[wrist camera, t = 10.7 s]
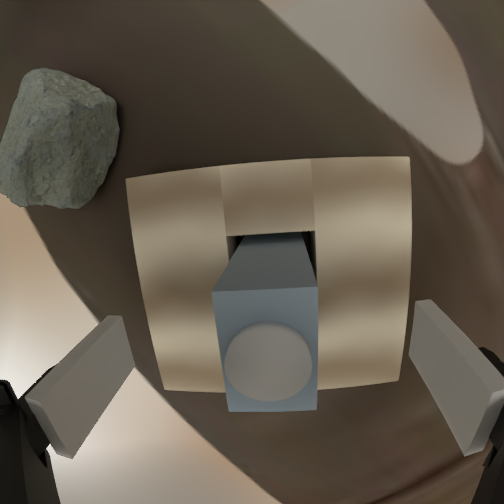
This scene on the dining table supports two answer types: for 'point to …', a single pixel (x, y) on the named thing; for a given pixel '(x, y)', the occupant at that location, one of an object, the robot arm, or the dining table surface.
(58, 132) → the decorative stone
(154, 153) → the dining table surface
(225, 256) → the hub block
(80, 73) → the dining table surface
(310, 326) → the keyed peg
